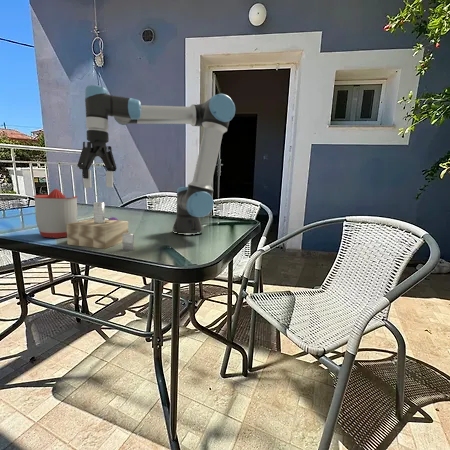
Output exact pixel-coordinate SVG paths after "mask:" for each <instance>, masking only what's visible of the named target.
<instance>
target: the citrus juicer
mask: <svg viewBox="0 0 450 450" xmlns="http://www.w3.org/2000/svg"><path fill="white" fill-rule="evenodd" d="M33 197H34V209H35V211H34V212H35V213H34V214H35V215H34V216H35V222H36V226H37V229H38V232H39V233H40V235H41V237H44V238H54V239H61V238H65V237H66V238H67V224H68V223H73V222H78V196H76V195H74V196H73V197H66V195H64V194H63V193H62V192H61V191H60V190H59V189H58V188H54V189H53V190H52V191H50V193H48V194H35V195H33Z"/></svg>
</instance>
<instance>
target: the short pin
mask: <svg viewBox="0 0 450 450" xmlns="http://www.w3.org/2000/svg"><path fill="white" fill-rule="evenodd" d="M121 243H122V245H121V246H122V251H124V252H131V251H135V233H132V232H128V233H123V234H122V242H121Z"/></svg>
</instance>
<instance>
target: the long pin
mask: <svg viewBox="0 0 450 450" xmlns="http://www.w3.org/2000/svg"><path fill="white" fill-rule="evenodd" d="M105 207H106V203H105V202H104V201H102V202H101V201H93V219H94V224H105V219H106V210H105Z"/></svg>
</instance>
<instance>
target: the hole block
mask: <svg viewBox="0 0 450 450" xmlns="http://www.w3.org/2000/svg"><path fill="white" fill-rule="evenodd" d="M118 220H119V219H118ZM118 220H108V219H106V218H105V224H94V218H89V219H85V220H79V221H78V220H77V222H73V223H68V224H67V237H66V238H67V239H66V242H67V246H68V245H69V246H79V247H89V248H98V249H104V250H105V249H108V248H110V247H114V246H116V245H118V244H121V243H122V234H123V233H129V221H127V220H119V221H118Z"/></svg>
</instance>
